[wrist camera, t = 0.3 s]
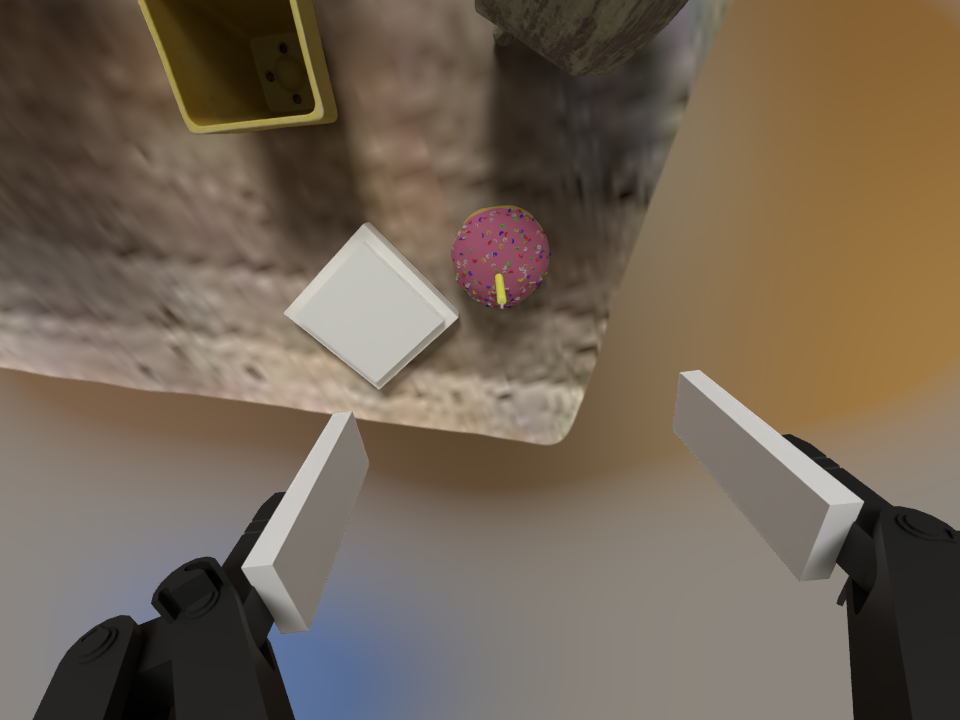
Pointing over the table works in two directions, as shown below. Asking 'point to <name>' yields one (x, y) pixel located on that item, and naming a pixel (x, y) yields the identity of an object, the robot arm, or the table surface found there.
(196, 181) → the table surface
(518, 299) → the cupcake
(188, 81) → the flower pot
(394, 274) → the pedestal
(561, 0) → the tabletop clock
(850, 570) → the robot arm
